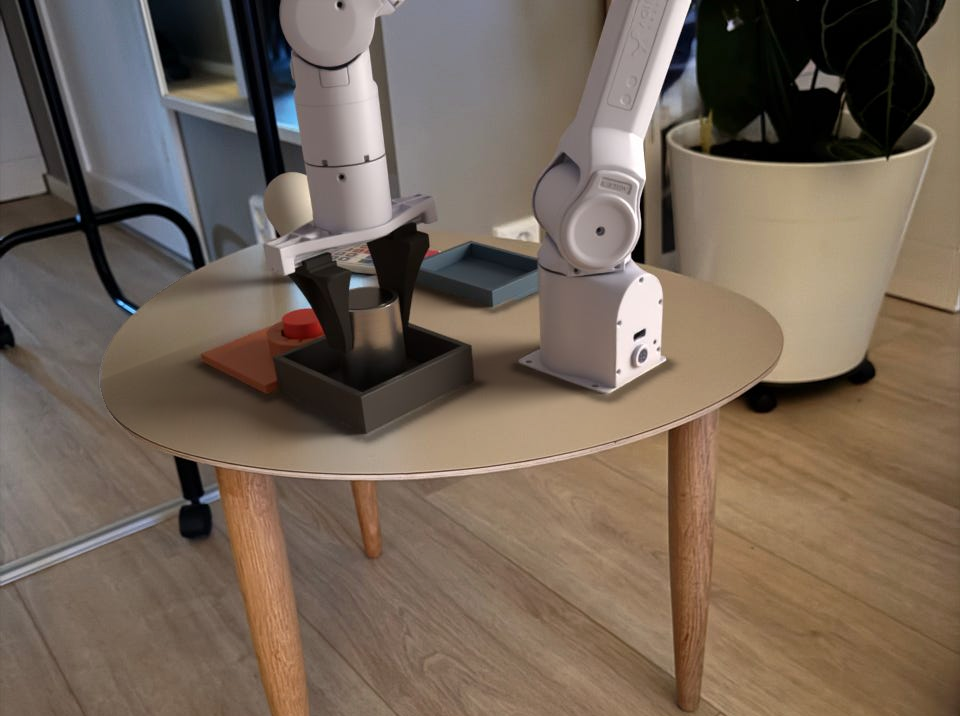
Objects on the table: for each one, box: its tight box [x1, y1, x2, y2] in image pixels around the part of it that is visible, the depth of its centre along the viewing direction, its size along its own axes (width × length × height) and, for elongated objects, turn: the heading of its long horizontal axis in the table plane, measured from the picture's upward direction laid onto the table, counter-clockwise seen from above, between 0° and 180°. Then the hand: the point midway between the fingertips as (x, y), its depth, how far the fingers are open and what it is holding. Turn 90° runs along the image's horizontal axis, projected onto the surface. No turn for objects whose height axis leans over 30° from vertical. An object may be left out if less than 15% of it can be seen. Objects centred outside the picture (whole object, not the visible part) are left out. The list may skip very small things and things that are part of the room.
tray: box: [415, 240, 538, 308], centre depth 94 cm, size 12×9×2 cm
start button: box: [281, 307, 324, 340], centre depth 80 cm, size 4×4×2 cm
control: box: [200, 320, 325, 395], centre depth 81 cm, size 10×10×3 cm
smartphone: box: [332, 243, 441, 276], centre depth 102 cm, size 7×1×15 cm
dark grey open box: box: [273, 322, 475, 435], centre depth 75 cm, size 11×11×4 cm
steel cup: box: [338, 285, 407, 392], centre depth 74 cm, size 5×5×7 cm
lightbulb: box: [262, 171, 313, 237], centre depth 96 cm, size 6×6×11 cm
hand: (370, 335), depth 74 cm, fingers closed on steel cup, 5 cm apart
